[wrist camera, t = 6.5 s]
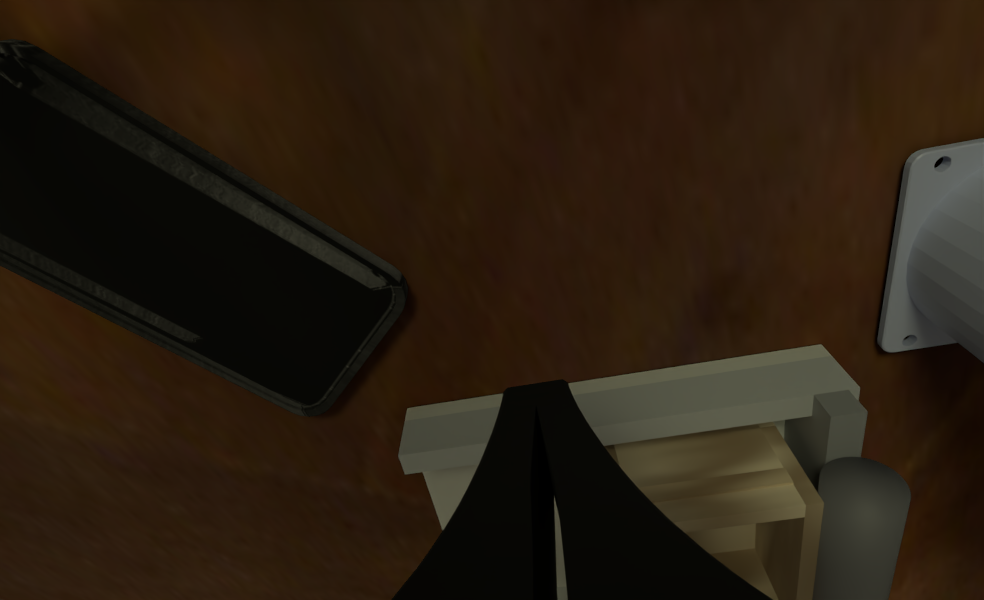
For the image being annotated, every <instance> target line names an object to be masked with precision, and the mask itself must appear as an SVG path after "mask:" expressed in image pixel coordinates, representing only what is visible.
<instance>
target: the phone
mask: <svg viewBox="0 0 984 600" xmlns="http://www.w3.org/2000/svg"><path fill="white" fill-rule="evenodd" d="M0 266H2V267H4V268H6V269H8V270H10V271H12V272H14V273H16V274H18V275H20V276H22V277H24V278H26V279H28V280H30V281H32V282H34V283H36V284H38V285H40V286H42V287H44V288H46V289H48V290H50V291H52V292H54V293H56V294H58V295H60V296H62V297H64V298H66V299H68V300H70V301H72V302H74V303H76V304H78V305H80V306H82V307H84V308H86V309H88V310H90V311H92V312H94V313H96V314H98V315H100V316H101V317H103V318H105V319H107V320H109V321H111V322H113V323H115V324H117V325H119V326H121V327H123V328H125V329H127V330H129V331H131V332H133V333H135V334H137V335H139V336H141V337H143V338H145V339H147V340H149V341H151V342H153V343H155V344H157V345H159V346H161V347H163V348H165V349H167V350H169V351H171V352H173V353H175V354H177V355H179V356H181V357H183V358H185V359H187V360H189V361H191V362H193V363H195V364H197V365H199V366H201V367H203V368H205V369H207V370H209V371H211V372H213V373H215V374H217V375H219V376H221V377H223V378H225V379H226V380H228V381H230V382H232V383H234V384H236V385H238V386H240V387H242V388H244V389H246V390H248V391H250V392H252V393H254V394H256V395H258V396H260V397H262V398H264V399H266V400H268V401H270V402H272V403H274V404H276V405H278V406H280V407H282V408H284V409H286V410H288V411H290V412H292V413H295V414H297V415H300V416H309V417H310V416H317V415H320V414H322V413H325V412H326V411H327V410H328V409H329V408H330V407H331V406H332V405H333V403H334V402H335V401H336V399H337V398H338V397H339V395H340V394H341V393H342V391H343V390H344V389H345V387H346V386H347V385H348V383H349V382H350V381H351V379H352V378H353V377H354V375H355V374H356V373H357V371H358V370H359V369H360V367H361V366H362V365H363V363H364V362H365V361H366V359H367V358H368V357H369V356H370V354H371V353H372V352H373V350H374V349H375V348H376V346H377V345H378V344H379V342H380V341H381V340H382V338H383V337H384V336H385V334H386V333H387V332H388V330H389V329H390V328H391V326H392V325H393V324H394V322H395V321H396V320H397V318H398V317H399V316H400V314H401V312H402V310H403V308H404V306H405V303H406V299H407V293H408V287H407V283H406V279H405V278H404V276H403V275H402V273H401V272H400V271H399V270H398V269H396V268H395V267H394V266H393V265H391V264H389V263H388V262H386V261H385V260H383V259H381V258H380V257H378V256H376V255H375V254H373V253H372V252H370V251H368V250H367V249H365V248H363V247H362V246H360V245H359V244H357V243H355V242H354V241H352V240H350V239H349V238H347V237H346V236H344V235H342V234H341V233H339V232H337V231H336V230H334V229H333V228H331V227H329V226H328V225H326V224H324V223H323V222H321V221H320V220H318V219H316V218H315V217H313V216H311V215H310V214H308V213H307V212H305V211H303V210H302V209H300V208H298V207H297V206H295V205H294V204H292V203H290V202H289V201H287V200H285V199H284V198H282V197H281V196H279V195H277V194H276V193H274V192H272V191H271V190H269V189H268V188H266V187H264V186H263V185H261V184H259V183H258V182H256V181H255V180H253V179H251V178H250V177H248V176H246V175H245V174H243V173H242V172H240V171H238V170H237V169H235V168H234V167H232V166H230V165H229V164H227V163H225V162H224V161H222V160H221V159H219V158H217V157H216V156H214V155H212V154H211V153H209V152H208V151H206V150H204V149H203V148H201V147H199V146H198V145H196V144H195V143H193V142H191V141H190V140H188V139H186V138H185V137H183V136H182V135H180V134H178V133H177V132H175V131H173V130H172V129H170V128H169V127H167V126H165V125H164V124H162V123H160V122H159V121H157V120H156V119H154V118H152V117H151V116H149V115H147V114H146V113H144V112H143V111H141V110H139V109H138V108H136V107H134V106H133V105H131V104H130V103H128V102H126V101H125V100H123V99H121V98H120V97H118V96H117V95H115V94H113V93H112V92H110V91H108V90H107V89H105V88H104V87H102V86H100V85H99V84H97V83H95V82H94V81H92V80H91V79H89V78H87V77H86V76H84V75H82V74H81V73H79V72H78V71H76V70H74V69H73V68H71V67H70V66H68V65H66V64H65V63H63V62H61V61H60V60H58V59H57V58H55V57H53V56H52V55H50V54H48V53H47V52H45V51H44V50H42V49H40V48H39V47H37V46H35V45H32V44H30V43H28V42H26V41H21V40H15V39H10V40H3V41H0Z"/></svg>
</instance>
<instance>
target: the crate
mask: <svg viewBox="0 0 984 600" xmlns="http://www.w3.org/2000/svg"><path fill="white" fill-rule="evenodd" d="M604 447H605V448H606V450H607V451H608V452H609V454H610V455H611V456H612V458H613V459H614V460H615V461H616V462H617V464H618V465H619V466H620V467H621V469H622V470H623V471H624V472H625V473H626V475H627V476H628V477H629V478H630V479H631V480H632V482H633V483H634V484H635V485H636V486H637V487H638V488H639V489H640V490H641V491H642V492H643V493H644V495H645V496H646V497H647V498H648V499H649V500H650V501H651V502H652V503H653V504H654V505H655V506H656V507H657V508H658V509H659V510H660V511H661V512H662V513H663V514H664V515H665V516H666V517H667V518H669V519H670V520H671V521H672V522H673V523H674V524H675V525H676V526H678V527H679V528H680V529H681V530H682V531H683V532H685V533H686V534H687V535H688V536H689V537H690V538H691V539H693V540H694V541H695V542H696V543H697V544H698V545H700V546H701V547H702V548H703V549H704V550H705V551H707V552H708V553H709V554H711V555H712V556H713V557H714V558H716V559H717V560H718V561H720V562H721V563H722V564H723V565H725V566H726V567H727V568H729V569H730V570H731V571H733V572H734V573H735V574H737V575H738V576H740V577H741V578H742V579H744V580H745V581H747V582H748V583H749V584H751V585H752V586H754V587H755V588H757V589H758V590H760V591H761V592H762V593H764V594H765V595H767V596H768V597H770V598H771V599H773V600H812V598H813V589H814V581H815V573H816V565H817V557H818V549H819V540H820V532H821V524H822V516H823V508H824V502H823V500H822V499H821V497H820V496H819V494H818V493H817V491H816V489H815V488H814V486H813V485H812V483H811V481H810V480H809V478H808V477H807V475H806V474H805V472H804V470H803V469H802V467H801V466H800V464H799V462H798V461H797V459H796V458H795V456H794V454H793V453H792V451H791V450H790V448H789V447H788V445H787V443H786V442H785V440H784V439H783V437H782V435H781V434H780V432H779V431H778V429H777V428H776V426H775V424H774V423H773V422H767V423H760V424H753V425H746V426H739V427H732V428H725V429H718V430H711V431H704V432H697V433H690V434H683V435H676V436H669V437H662V438H655V439H648V440H641V441H635V442H628V443H621V444H614V445H607V446H604Z"/></svg>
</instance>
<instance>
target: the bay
mask: <svg viewBox="0 0 984 600" xmlns="http://www.w3.org/2000/svg"><path fill="white" fill-rule="evenodd" d="M568 384H569V388H570V390H571V393H572V395H573V397H574V399H575V401H576V403H577V405H578V407H579V409H580V411H581V412H582V414H583V416H584V417H585V419H586V421H587V422H588V424H589V425H590V427H591V428H592V430H593V431H594V433H595V434H596V436H597V437H598V438H599V440H600V441H601V443H602V444H603V446H607V445H614V444H621V443H628V442H635V441H641V440H648V439H655V438H662V437H669V436H676V435H683V434H690V433H697V432H704V431H711V430H718V429H725V428H732V427H739V426H746V425H753V424H760V423H767V422H773V423H774V424H775V426H776V428H777V429H778V431H779V432H780V434H781V435H782V437H783V439H784V440H785V442H786V443H787V445H788V447H789V448H790V450H791V451H792V453H793V454H794V456H795V458H796V459H797V461H798V462H799V464H800V466H801V467H802V469H803V470H804V472H805V474H806V475H807V477H808V478H809V480H810V481H811V483H812V485H813V486H814V488H815V489H816V491H817V493H818V494H819V496H820V497H821V499H822V500H823V502H824V508H823V516H822V524H821V532H820V540H819V549H818V557H817V565H816V573H815V581H814V589H813V598H812V600H888V598H889V593H890V589H891V585H892V580H893V576H894V571H895V567H896V562H897V558H898V553H899V549H900V545H901V540H902V536H903V531H904V527H905V522H906V518H907V513H908V509H909V504H910V500H911V493H910V489H909V487H908V485H907V483H906V482H905V480H904V479H903V478H902V477H901V476H900V475H899V474H898V473H897V472H895V471H894V470H893V469H891V468H889V467H888V466H886V465H884V464H882V463H879V462H877V461H874V460H871V459H866V458H861V451H862V444H863V438H864V432H865V425H866V419H867V413H868V412H867V410H866V409H865V408H864V407H863V406H862V405H861V403H860V402H859V401H858V400H859V393H860V387H859V386H858V385H857V384H856V383H855V381H854V380H853V379H852V378H851V377H850V376H849V375H848V374H847V373H846V371H845V370H844V369H843V368H842V367H841V366H840V365H839V364H838V362H837V361H836V360H835V359H834V358H833V357H832V356H831V355H830V354H829V352H828V351H827V350H826V349H825V348H824V347H823V346H822V345H821V344H820V345H814V346H807V347H801V348H794V349H788V350H781V351H775V352H768V353H762V354H755V355H749V356H742V357H736V358H729V359H723V360H716V361H710V362H703V363H697V364H690V365H684V366H678V367H671V368H665V369H658V370H652V371H645V372H639V373H632V374H626V375H619V376H613V377H606V378H600V379H593V380H587V381H580V382H574V383H568ZM502 397H503V394H496V395H490V396H483V397H477V398H470V399H464V400H457V401H451V402H444V403H438V404H431V405H425V406H418V407H412V408H407V412H406V418H405V423H404V428H403V433H402V439H401V444H400V449H399V454H398V457H399V459H400V462H401V465H402V468H403V470H404V473H405V474H412V473H419V472H423V475H424V478H425V481H426V483H427V486H428V489H429V492H430V495H431V498H432V501H433V504H434V507H435V510H436V513H437V515H438V518H439V521H440V524H441V527H442V530H444V528H445V527H446V525H447V523H448V522H449V520H450V518H451V517H452V515H453V513H454V512H455V510H456V508H457V507H458V505H459V503H460V501H461V499H462V497H463V496H464V494H465V492H466V490H467V488H468V486H469V484H470V482H471V480H472V477H473V475H474V473H475V471H476V469H477V467H478V465H479V463H480V461H481V458H482V456H483V454H484V451H485V448H486V446H487V443H488V441H489V438H490V436H491V433H492V431H493V428H494V425H495V422H496V419H497V416H498V412H499V409H500V405H501V401H502ZM554 509H555V540H556V573H557V598H558V600H568V598H567V587H566V577H565V566H564V556H563V546H562V537H561V527H560V519H559V514H558V510H557V506H556V501H555V497H554Z"/></svg>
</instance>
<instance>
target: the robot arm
mask: <svg viewBox="0 0 984 600" xmlns="http://www.w3.org/2000/svg"><path fill="white" fill-rule="evenodd" d="M941 157H943V161H942V163H941V164H940V165H939V166H938V167H936V168H934V165H935V163H936V161H937V160H938V159H939V158H941ZM909 335H910V336H909ZM906 336H909V337H908V338H907V339H905V340H903V339H904V338H905V337H906ZM877 342H878V345H879V346H880V347H881V348H882V349H883V350H884V351H886V352H900V351H906V350H913V349H919V348H926V347H933V346H939V345H946V344H952V343H959V344H960V345H962V346H963V347H964V348H965V349H967V350H968V351H969V352H970V353H972V354H973V355H974V356H975V357H977V358H978V359H979V360H981V361H982V362H983V363H984V138H981V139H976V140H970V141H965V142H959V143H954V144H948V145H943V146H937V147H932V148H926V149H921V150H919V151H916V152H915V153H913V154H912V155H911V156H910V157H909V158H908V159H907V161H906V163H905V166H904V171H903V178H902V184H901V191H900V197H899V203H898V210H897V216H896V223H895V229H894V236H893V242H892V248H891V255H890V261H889V268H888V274H887V281H886V287H885V293H884V300H883V306H882V313H881V319H880V325H879V332H878V338H877ZM554 497H555V501H556V506H557V510H558V514H559V519H560V527H561V537H562V546H563V556H564V566H565V577H566V587H567V598H568V600H773V599H771V598H770V597H768V596H767V595H765V594H764V593H762V592H761V591H760V590H758V589H757V588H755V587H754V586H752V585H751V584H749V583H748V582H747V581H745V580H744V579H742V578H741V577H740V576H738V575H737V574H735V573H734V572H733V571H731V570H730V569H729V568H727V567H726V566H725V565H723V564H722V563H721V562H720V561H718V560H717V559H716V558H714V557H713V556H712V555H711V554H709V553H708V552H707V551H705V550H704V549H703V548H702V547H701V546H700V545H698V544H697V543H696V542H695V541H694V540H693V539H691V538H690V537H689V536H688V535H687V534H686V533H685V532H683V531H682V530H681V529H680V528H679V527H678V526H676V525H675V524H674V523H673V522H672V521H671V520H670V519H669V518H667V517H666V516H665V515H664V514H663V513H662V512H661V511H660V510H659V509H658V508H657V507H656V506H655V505H654V504H653V503H652V502H651V501H650V500H649V499H648V498H647V497H646V496H645V495H644V493H643V492H642V491H641V490H640V489H639V488H638V487H637V486H636V485H635V484H634V483H633V482H632V480H631V479H630V478H629V477H628V476H627V475H626V473H625V472H624V471H623V470H622V469H621V467H620V466H619V465H618V464H617V462H616V461H615V460H614V459H613V458H612V456H611V455H610V454H609V452H608V451H607V450H606V448H605V447H604V446H603V444H602V443H601V441H600V440H599V438H598V437H597V436H596V434H595V433H594V431H593V430H592V428H591V427H590V425H589V424H588V422H587V421H586V419H585V417H584V416H583V414H582V412H581V411H580V409H579V407H578V405H577V403H576V401H575V399H574V397H573V395H572V393H571V390H570V388H569V384H568V383H567V382H566V381H564V380H563V379H562V380H555V381H549V382H542V383H536V384H529V385H523V386H516V387H510V388H507V389H506V390H505V391H504V392H503V397H502V401H501V405H500V409H499V412H498V416H497V419H496V422H495V425H494V428H493V431H492V433H491V436H490V438H489V441H488V443H487V446H486V448H485V451H484V454H483V456H482V458H481V461H480V463H479V465H478V467H477V469H476V471H475V473H474V475H473V477H472V480H471V482H470V484H469V486H468V488H467V490H466V492H465V494H464V496H463V497H462V499H461V501H460V503H459V505H458V507H457V508H456V510H455V512H454V513H453V515H452V517H451V518H450V520H449V522H448V523H447V525H446V527H445V528H444V530H443V531H442V533H441V534H440V536H439V537H438V539H437V540H436V542H435V543H434V545H433V546H432V548H431V549H430V551H429V552H428V554H427V555H426V556H425V558H424V559H423V561H422V562H421V563H420V565H419V566H418V567H417V569H416V570H415V571H414V572H413V574H412V575H411V576H410V577H409V579H408V580H407V581H406V582H405V584H404V585H403V586H402V587H401V589H400V590H399V591H398V592H397V594H396V595H395V596H394V597H393V598H392V600H558V598H557V573H556V540H555V509H554Z"/></svg>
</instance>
